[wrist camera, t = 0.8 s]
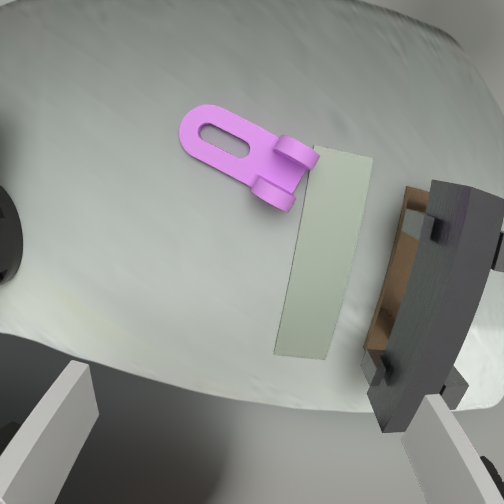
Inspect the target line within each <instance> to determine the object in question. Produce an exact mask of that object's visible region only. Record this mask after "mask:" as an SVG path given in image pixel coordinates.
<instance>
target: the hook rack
mask: <svg viewBox="0 0 504 504" xmlns="http://www.w3.org/2000/svg"><path fill="white" fill-rule="evenodd" d="M429 193H430V192H427V191H424V190H420V189H416V188H412V187H408V186H406V191H405V196H404V201H403V206H402V211H401V215H400V220H399V225H398V229H397V233H396V238H395V242H394V246H393V250H392V254H391V258H390V262H389V265H388V269H387V273H386V276H385V280H384V283H383V287H382V290H381V294H380V297H379V301H378V304H377V307H376V310H375V313H374V317H373V320H372V323H371V326H370V329H369V332H368V335H367V338H366V341H365V344H364V346H363V348H364V350H365V354H364V357H363V360H362V362H361V367H362V370H363V372H364V374H365V376H366V379H367V381H368V383H369V386H379V385H380V383H381V381H382V378H383V376H384V374H385V371H386V368H385V366H384V364H383V362H382V361H381V358H382V356H383V353H384V351H385V348H386V345H387V343H388V340H389V337H390V335H391V332H392V329H393V326H394V323H395V320H396V317H397V315H398V312H399V309H400V305H401V302H402V299H403V296H404V293H405V290H406V286H407V283H408V280H409V276H410V273H411V269H412V266H413V262H414V258H415V255H416V251H417V247H418V243H419V240H420V241H425V242H429V240H430V235H431V231H432V227H433V223H434V217H431V216H429V215H426V214H425V213H426V208H427V203H428V198H429ZM491 269H493V270H495V271H500V272H504V231H502V230H501V231H500V235H499V239H498V243H497V247H496V251H495V255H494V258H493V262H492V265H491ZM468 387H469V385H468V383H467V382H466V381H465V379H464V378H463V377H462V376H461V374H460V373H459V372H458V371H457V369H456V368H455V367H454V366H453V367H452V369H451V371H450V373H449V375H448V377H447V379H446V381H445V383H444V385H443V387H442V389H441V390H440V392H439V394H440V396H441V397H442V399H443V400H444V402H445V403H446V405H447V406H448V408H449V409H450V410H455V409H456V408H457V406H458V404H459V403H460V401H461V399H462V397H463V396H464V394H465V392H466V390H467V388H468Z"/></svg>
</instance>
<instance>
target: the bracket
mask: <svg viewBox="0 0 504 504" xmlns="http://www.w3.org/2000/svg"><path fill="white" fill-rule="evenodd" d="M206 124H212V125H214V126H217V127H219V128H221V129H222V130H224V131H226V132H228V133H230V134H232V135H234V136H236V137H238V138H240V139H242V140H244V141H246V142H247V143H248V144H249V146H250V152H249V154H248V155H247V156H246V157H244V158H237V157H235V156H233V155H231V154H229V153H227V152H226V151H224V150H222V149H220V148H218V147H216V146H214V145H212V144H210V143H208V142H206V141H204V140H203V139H202V138H201V136H200V130H201V128H202V127H203V126H204V125H206ZM179 136H180V141H181V144H182V146H183V147H184V149H185V150H186V151H187V152H188V153H189V154H190V155H192V156H193V157H195V158H197V159H199V160H201V161H203V162H205V163H207V164H209V165H211V166H213V167H215V168H217V169H218V170H220V171H222V172H224V173H226V174H228V175H230V176H232V177H234V178H235V179H237V180H239V181H241V182H243V183H245V184H247V185H248V186H250V187H252V189H251V192H252V193H254V194H255V195H256V196H258V197H259V198H261V199H263V200H264V201H266V202H268V203H270V204H271V205H273V206H275V207H277V208H279V209H281V210H283V211H286V212H289V210H290V208H291V207H292V205H293V203H294V201H295V200H296V197H295V196H294V195H293V194H292V193H293V191H294V189H295V188H296V186H297V184H298V182H299V181H300V179H301V177H302V175H303V174H304V172H305V170H306V169H308V170H313V168H314V167H315V165H316V163H317V161H318V160H319V158H320V155H319V154H318V153H316V152H315V151H314V150H312V149H311V148H309V147H307V146H306V145H304V144H302V143H301V142H299V141H297V140H295V139H293V138H291V137H288V136H286V135H282V136H281V137H277V136H275V135H273V134H272V133H270V132H268V131H266V130H264V129H262V128H260V127H259V126H257V125H255V124H253V123H251V122H249V121H247V120H245V119H243V118H241V117H239V116H237V115H235V114H233V113H231V112H229V111H227V110H225V109H223V108H221V107H219V106H216V105H201V106H198V107H196V108H194V109H192V110H191V111H190V112H189V113H187V115H186V116H185V117H184V119H183V120H182V122H181V125H180V130H179Z"/></svg>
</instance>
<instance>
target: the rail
mask: <svg viewBox="0 0 504 504" xmlns="http://www.w3.org/2000/svg"><path fill="white" fill-rule="evenodd" d="M425 214H426V215H429V216H431V217H434V223H433V227H432V231H431V235H430V240H429V242H425V241H420V240H419V243H418V247H417V251H416V255H415V258H414V262H413V266H412V269H411V273H410V276H409V280H408V283H407V286H406V290H405V293H404V296H403V299H402V302H401V305H400V309H399V312H398V315H397V317H396V320H395V323H394V326H393V329H392V332H391V335H390V337H389V340H388V343H387V345H386V348H385V351H384V353H383V356H382V358H381V361H382V362H383V364H384V366H385V368H386V371H385V374H384V376H383V378H382V381H381V383H380V385H379V386H370V387H369V390H368V392H367V396H368V398H369V400H370V403H371V405H372V408H373V411H374V413H375V416H376V418H377V420H378V423H379V426H380V428H381V431H382V433H392V432H405V431H406V430H407V428H408V426H409V424H410V423H411V421H412V419H413V417H414V415H415V414H416V412H417V410H418V408H419V406H420V404H421V402H422V400H423V398H424V396H425V395H432V394H439V392H440V390H441V389H442V387H443V385H444V383H445V381H446V379H447V377H448V375H449V373H450V371H451V369H452V367H453V365H454V362H455V360H456V358H457V356H458V354H459V352H460V349H461V347H462V345H463V343H464V340H465V338H466V336H467V333H468V331H469V328H470V326H471V323H472V321H473V318H474V316H475V313H476V310H477V308H478V305H479V302H480V299H481V296H482V293H483V291H484V288H485V285H486V281H487V278H488V275H489V272H490V269H491V265H492V262H493V258H494V255H495V251H496V247H497V243H498V239H499V235H500V231H501V227H502V222H503V218H504V199H503V198H500V197H498V196H495V195H492V194H490V193H487V192H484V191H482V190H479V189H476V188H473V187H469V186H464V185H459V184H454V183H448V182H443V181H437V180H432V182H431V188H430V193H429V198H428V203H427V208H426V213H425Z"/></svg>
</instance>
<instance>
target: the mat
mask: <svg viewBox="0 0 504 504" xmlns="http://www.w3.org/2000/svg"><path fill="white" fill-rule="evenodd" d="M313 150H314V151H315V152H316V153H318V154H319V155H320V158H319V160H318V161H317V163H316V165H315V167H314V168H313V170H309V176H308V182H307V188H306V193H305V199H304V205H303V210H302V216H301V221H300V227H299V232H298V237H297V243H296V248H295V253H294V258H293V263H292V269H291V274H290V279H289V284H288V288H287V293H286V298H285V303H284V308H283V312H282V317H281V322H280V326H279V331H278V336H277V340H276V345H275V349H274V355H282V356H291V357H301V358H311V359H322V360H325V358H326V355H327V352H328V349H329V346H330V342H331V339H332V336H333V332H334V329H335V326H336V322H337V319H338V315H339V311H340V308H341V304H342V301H343V297H344V293H345V289H346V285H347V282H348V278H349V274H350V270H351V266H352V261H353V257H354V253H355V249H356V244H357V240H358V235H359V231H360V226H361V222H362V217H363V212H364V207H365V202H366V197H367V191H368V186H369V181H370V175H371V169H372V163H373V158H369V157H365V156H361V155H357V154H352V153H348V152H343V151H339V150H334V149H329V148H325V147H320V146H315V145H314V146H313Z"/></svg>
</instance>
